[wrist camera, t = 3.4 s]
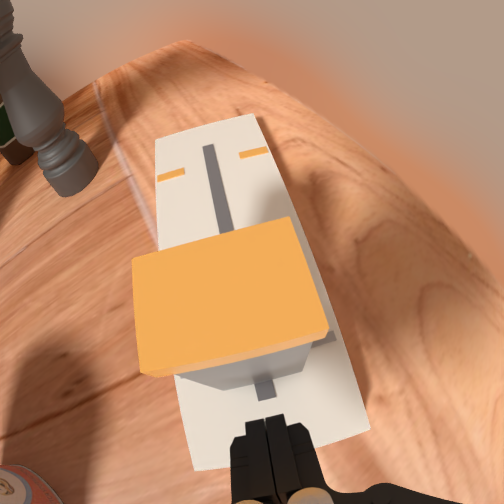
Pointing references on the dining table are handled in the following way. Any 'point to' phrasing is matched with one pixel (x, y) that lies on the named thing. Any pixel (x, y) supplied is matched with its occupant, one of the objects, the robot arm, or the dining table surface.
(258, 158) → the fader console
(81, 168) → the candle holder
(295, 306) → the fader knob
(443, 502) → the robot arm
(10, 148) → the beer bottle
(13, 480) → the canned food
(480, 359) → the dining table surface
